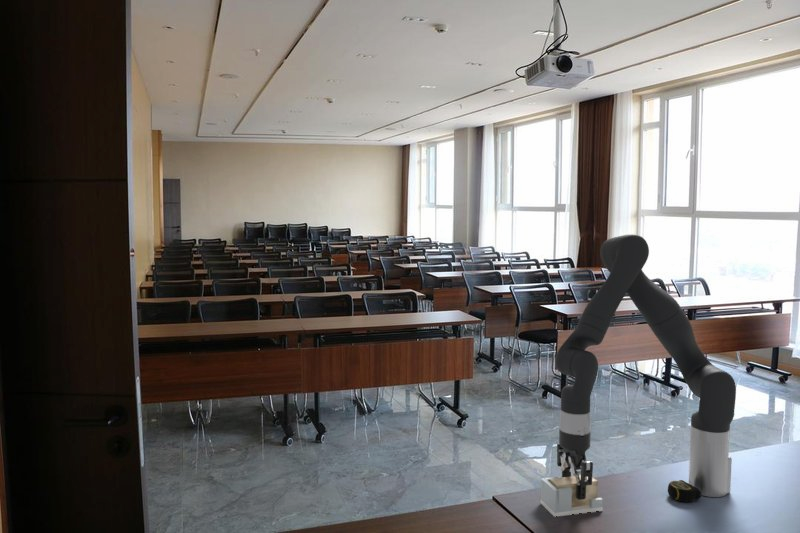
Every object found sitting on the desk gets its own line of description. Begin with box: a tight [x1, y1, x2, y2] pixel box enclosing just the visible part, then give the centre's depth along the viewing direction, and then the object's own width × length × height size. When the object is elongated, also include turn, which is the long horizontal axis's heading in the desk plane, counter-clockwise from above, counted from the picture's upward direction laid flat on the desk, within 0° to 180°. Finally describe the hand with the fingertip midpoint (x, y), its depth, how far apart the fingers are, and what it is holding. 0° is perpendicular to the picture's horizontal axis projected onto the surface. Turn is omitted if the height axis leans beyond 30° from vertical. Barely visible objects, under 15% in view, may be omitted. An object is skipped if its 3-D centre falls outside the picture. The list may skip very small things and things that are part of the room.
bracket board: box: [540, 476, 604, 518], centre depth 159 cm, size 13×8×6 cm, turn 103°
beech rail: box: [550, 475, 599, 507], centre depth 160 cm, size 11×4×6 cm, turn 104°
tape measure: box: [667, 479, 702, 503], centre depth 165 cm, size 7×7×4 cm
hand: (573, 492), depth 160 cm, fingers open, 7 cm apart
